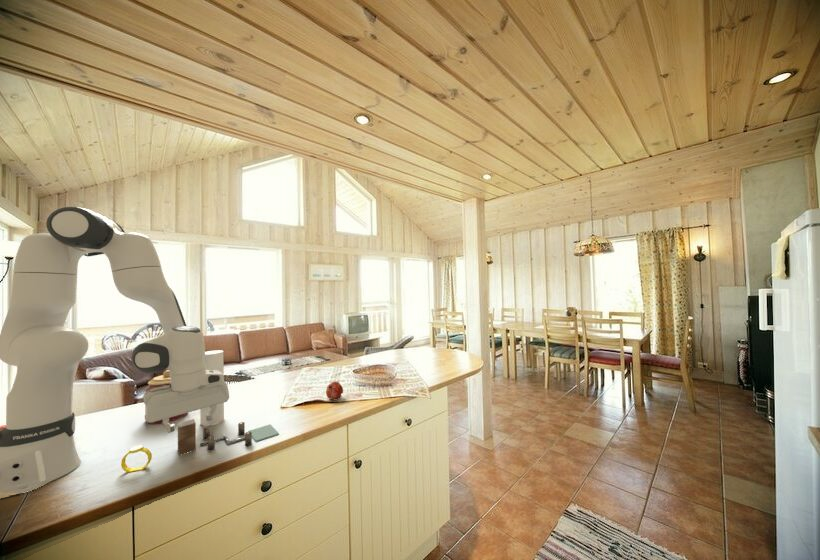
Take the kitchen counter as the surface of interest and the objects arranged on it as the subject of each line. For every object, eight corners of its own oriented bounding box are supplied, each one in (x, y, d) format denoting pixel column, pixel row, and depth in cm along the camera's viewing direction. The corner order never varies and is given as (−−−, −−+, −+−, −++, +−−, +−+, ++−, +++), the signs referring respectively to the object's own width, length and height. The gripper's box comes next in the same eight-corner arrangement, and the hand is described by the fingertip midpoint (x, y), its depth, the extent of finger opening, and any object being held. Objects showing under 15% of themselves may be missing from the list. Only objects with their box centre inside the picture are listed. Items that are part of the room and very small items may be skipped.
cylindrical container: (212, 426, 105) (211, 354, 106) (195, 425, 107) (195, 354, 107) (228, 417, 112) (228, 350, 113) (212, 416, 114) (211, 350, 114)
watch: (120, 476, 78) (118, 454, 78) (125, 470, 81) (123, 448, 81) (149, 469, 80) (147, 447, 80) (153, 463, 83) (151, 442, 83)
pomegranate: (332, 400, 134) (317, 392, 127) (341, 384, 137) (327, 376, 130) (342, 406, 129) (328, 397, 122) (351, 389, 132) (337, 380, 126)
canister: (144, 428, 105) (144, 377, 105) (144, 417, 115) (144, 370, 115) (190, 417, 114) (190, 370, 114) (187, 407, 123) (186, 364, 124)
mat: (255, 442, 94) (255, 440, 94) (248, 432, 100) (248, 430, 100) (278, 434, 98) (278, 433, 98) (270, 425, 105) (270, 424, 105)
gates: (210, 458, 85) (210, 445, 85) (202, 438, 97) (202, 427, 97) (252, 444, 92) (252, 432, 92) (240, 427, 104) (240, 417, 104)
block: (178, 455, 87) (178, 427, 87) (177, 450, 90) (177, 423, 90) (195, 450, 90) (195, 423, 90) (194, 445, 93) (193, 418, 93)
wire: (203, 452, 88) (203, 450, 88) (200, 445, 92) (200, 442, 92) (251, 437, 97) (251, 435, 97) (247, 431, 101) (247, 428, 101)
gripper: (143, 392, 81) (145, 443, 82) (229, 373, 95) (231, 417, 96) (142, 387, 86) (145, 435, 86) (224, 369, 100) (226, 411, 100)
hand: (191, 425), depth 91 cm, fingers open, 8 cm apart
